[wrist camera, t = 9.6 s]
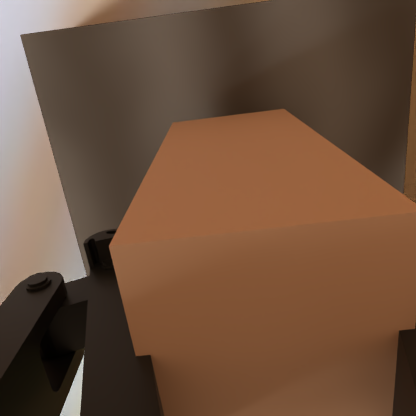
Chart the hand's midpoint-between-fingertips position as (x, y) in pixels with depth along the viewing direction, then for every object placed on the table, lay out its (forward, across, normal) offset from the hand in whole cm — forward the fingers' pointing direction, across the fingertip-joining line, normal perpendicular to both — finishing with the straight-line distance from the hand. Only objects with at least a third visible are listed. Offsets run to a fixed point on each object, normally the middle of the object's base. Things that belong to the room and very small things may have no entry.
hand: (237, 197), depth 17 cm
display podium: (+8, 0, 0) cm, 8 cm away
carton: (+1, 0, 0) cm, 1 cm away
